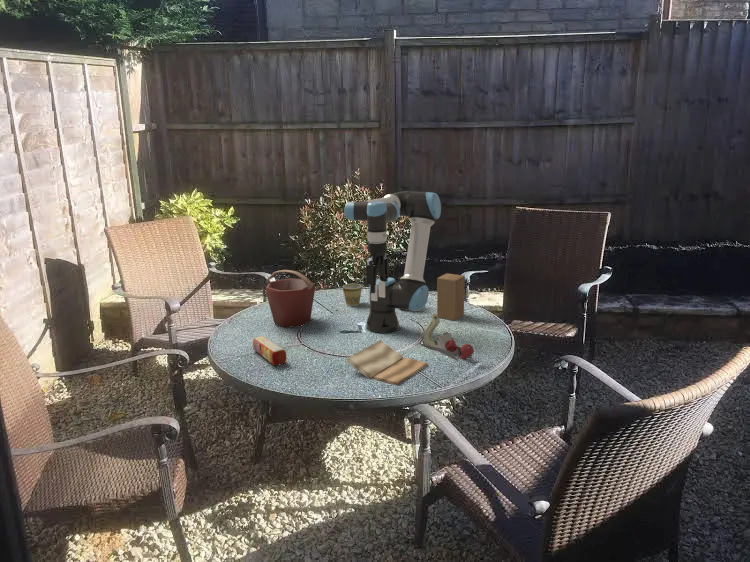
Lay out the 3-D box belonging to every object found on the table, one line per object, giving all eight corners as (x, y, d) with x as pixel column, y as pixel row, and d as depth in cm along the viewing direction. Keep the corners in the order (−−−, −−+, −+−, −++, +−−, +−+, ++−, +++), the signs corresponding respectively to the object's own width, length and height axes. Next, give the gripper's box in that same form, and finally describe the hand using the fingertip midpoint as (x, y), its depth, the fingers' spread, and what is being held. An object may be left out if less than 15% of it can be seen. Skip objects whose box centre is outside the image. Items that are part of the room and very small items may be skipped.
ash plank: (346, 361, 240) (348, 357, 240) (378, 343, 258) (380, 340, 257) (372, 381, 236) (373, 377, 235) (403, 362, 253) (404, 358, 252)
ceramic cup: (355, 308, 321) (354, 289, 318) (339, 305, 326) (338, 287, 324) (369, 302, 331) (368, 283, 329) (353, 299, 337) (353, 281, 334)
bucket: (258, 321, 304) (255, 271, 297) (294, 310, 319) (291, 262, 313) (291, 332, 288) (288, 280, 281) (327, 320, 303) (325, 270, 297)
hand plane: (430, 340, 276) (430, 308, 272) (477, 363, 251) (478, 327, 247) (417, 344, 272) (417, 311, 268) (464, 367, 247) (465, 331, 243)
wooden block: (464, 315, 308) (465, 275, 303) (455, 320, 300) (456, 280, 295) (445, 311, 313) (446, 273, 308) (436, 317, 305) (437, 277, 300)
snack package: (252, 351, 267) (251, 336, 265) (266, 348, 270) (265, 333, 269) (272, 367, 250) (271, 351, 248) (287, 364, 253) (286, 348, 251)
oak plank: (374, 381, 235) (374, 376, 234) (405, 362, 252) (405, 357, 252) (397, 387, 229) (397, 382, 229) (427, 367, 247) (427, 362, 246)
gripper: (372, 246, 237) (373, 306, 243) (397, 238, 251) (398, 294, 257) (355, 244, 241) (357, 303, 247) (381, 236, 255) (382, 291, 261)
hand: (378, 298), depth 252 cm, fingers open, 5 cm apart
